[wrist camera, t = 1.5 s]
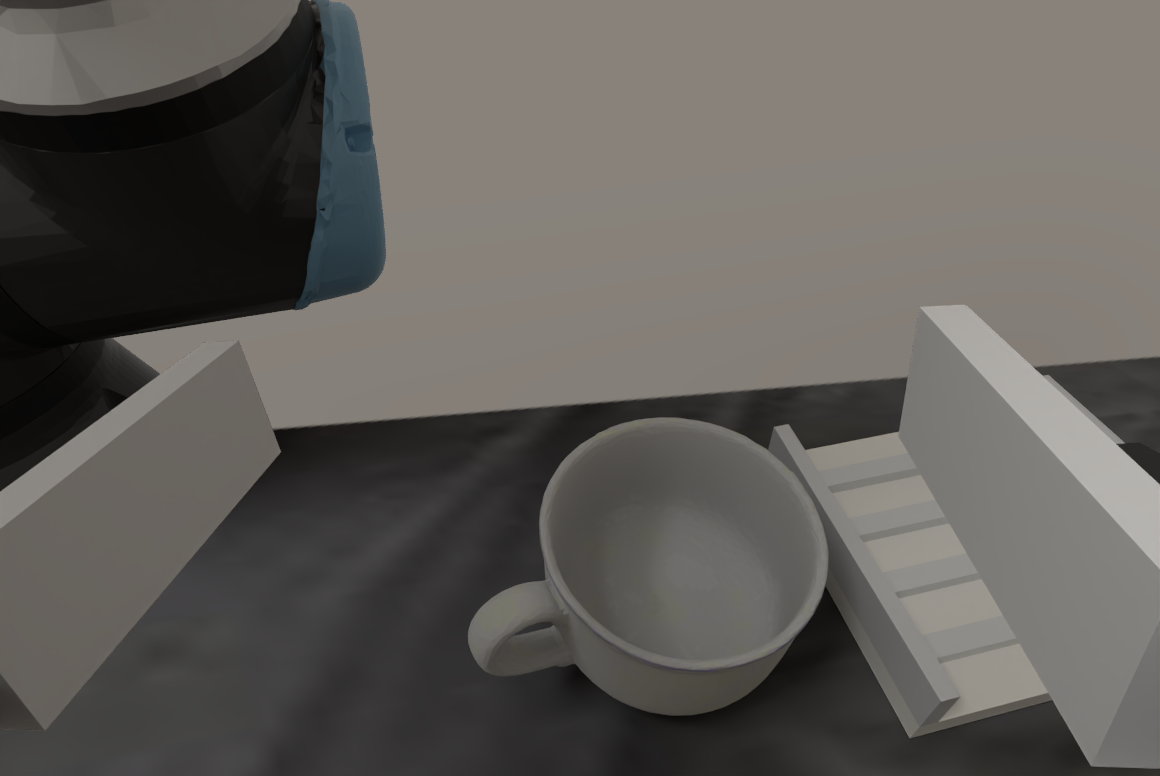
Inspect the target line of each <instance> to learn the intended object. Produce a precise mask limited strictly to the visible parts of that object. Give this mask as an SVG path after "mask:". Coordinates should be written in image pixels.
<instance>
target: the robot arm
mask: <svg viewBox="0 0 1160 776" xmlns="http://www.w3.org/2000/svg"><path fill="white" fill-rule="evenodd" d="M372 136H373V130H372V124H371V117H370V103H369V96H368V88H367V82H366V74H365V68H364V62H363V55H362V48H361V43H360V36H359V31H358V26H357V21H356V18H355V15H354V13H353V12H352V10H351V9H350V8H349V7H348V6H346V5H345V4H343V3H340V2H331V1H329V0H311V1H308V0H0V729H10V730H39V731H45V730H46V729H47V728H48V727H49V725H50V724H51V723H52V722H53V721H54V720H55V718H56V717H57V716H58V715H59V714H60V712H61V711H62V710H63V709H64V708H65V707H66V705H67V704H68V703H69V702H70V701H71V700H72V698H73V697H74V696H75V695H76V694H77V692H78V691H79V690H80V689H81V688H82V687H83V685H84V684H85V683H86V682H87V681H88V679H89V678H90V677H91V676H92V675H93V674H94V672H95V671H96V670H97V669H98V668H99V666H100V665H101V664H102V663H103V662H104V661H105V659H106V658H107V657H108V656H109V655H110V653H111V652H112V651H113V650H114V649H115V648H116V646H117V645H118V644H119V643H120V642H121V640H122V639H123V638H124V637H125V636H126V635H127V633H128V632H129V631H130V630H131V629H132V627H133V626H134V625H135V624H136V623H137V622H138V620H139V619H140V618H141V617H142V616H143V614H144V613H145V612H146V611H147V610H148V609H149V607H150V606H151V605H152V604H153V603H154V601H155V600H156V599H157V598H158V597H159V596H160V594H161V593H162V592H163V591H164V590H165V588H166V587H167V586H168V585H169V584H170V583H171V581H172V580H173V579H174V578H175V577H176V576H177V574H178V573H179V572H180V571H181V570H182V568H183V567H184V566H185V565H186V564H187V563H188V561H189V560H190V559H191V558H192V557H193V555H194V554H195V553H196V552H197V551H198V550H199V548H200V547H201V546H202V545H203V544H204V542H205V541H206V540H207V539H208V538H209V537H210V535H211V534H212V533H213V532H214V531H215V529H216V528H217V527H218V526H219V525H220V524H221V522H222V521H223V520H224V519H225V518H226V516H227V515H228V514H229V513H230V512H231V511H232V509H233V508H234V507H235V506H236V505H237V503H238V502H239V501H240V500H241V499H242V498H243V496H244V495H245V494H246V493H247V492H248V490H249V489H250V488H251V487H252V486H253V485H254V483H255V482H256V481H257V480H258V479H259V477H260V476H261V475H262V474H263V473H264V472H265V470H266V469H267V468H268V467H269V466H270V464H271V463H272V462H273V461H274V460H275V459H276V457H277V456H278V455H279V454H280V453H281V451H280V448H279V445H278V443H277V440H276V437H275V435H274V432H273V429H272V427H271V424H270V422H269V419H268V416H267V414H266V411H265V408H264V406H263V403H262V401H261V398H260V396H259V393H258V390H257V387H256V385H255V382H254V380H253V377H252V374H251V372H250V369H249V367H248V364H247V361H246V359H245V356H244V353H243V351H242V348H241V345H240V343H239V341H219V342H204V343H203V344H201V345H200V346H198V347H197V348H196V349H194V350H193V351H192V352H190V353H189V354H187V355H186V356H185V357H183V358H182V359H181V360H180V361H178V362H177V363H175V364H174V365H173V366H171V367H170V368H168V369H167V370H166V371H164V372H163V373H162V374H159V373H158V372H157V371H156V370H154V369H153V368H152V367H150V366H149V365H147V364H146V363H145V362H143V361H142V360H141V359H139V358H138V357H137V356H135V355H134V354H133V353H131V352H130V351H128V350H127V349H126V348H124V347H123V346H122V345H121V344H119V343H118V342H117V341H115V340H114V339H113V338H114V337H120V336H126V335H133V334H139V333H145V332H152V331H158V330H164V329H171V328H176V327H183V326H189V325H196V324H201V323H208V322H215V321H221V320H227V319H234V318H239V317H246V316H253V315H259V314H265V313H272V312H277V311H284V310H291V309H293V310H300V309H303V308H306V307H307V306H308V305H309V304H311V303H314V302H319V301H323V300H327V299H331V298H335V297H340V296H343V295H348V294H352V293H356V292H360V291H362V290H364V289H366V288H368V287H369V286H370V285H372V284H373V283H374V282H375V281H376V280H377V279H378V277H379V276H380V274H381V273H382V271H383V268H384V264H385V258H386V248H385V231H384V220H383V210H382V201H381V192H380V183H379V175H378V168H377V160H376V153H375V148H374V144H373V138H372ZM898 437H899V438H900V440H901V442H902V443H903V445H904V447H905V449H906V450H907V452H908V454H909V455H910V457H911V459H912V461H913V462H914V464H915V466H916V467H917V469H918V471H919V472H920V474H921V476H922V478H923V479H924V481H925V483H926V484H927V486H928V488H929V490H930V491H931V493H932V495H933V496H934V498H935V500H936V502H937V503H938V505H939V507H940V508H941V510H942V512H943V514H944V515H945V517H946V519H947V520H948V522H949V524H950V526H951V527H952V529H953V531H954V532H955V534H956V536H957V538H958V539H959V541H960V543H961V544H962V546H963V548H964V550H965V551H966V553H967V555H968V556H969V558H970V560H971V562H972V563H973V565H974V567H975V568H976V570H977V572H978V573H979V575H980V577H981V579H982V580H983V582H984V584H985V585H986V587H987V589H988V591H989V592H990V594H991V596H992V597H993V599H994V601H995V603H996V604H997V606H998V608H999V609H1000V611H1001V613H1002V615H1003V616H1004V618H1005V620H1006V621H1007V623H1008V625H1009V627H1010V628H1011V630H1012V632H1013V633H1014V635H1015V637H1016V639H1017V640H1018V642H1019V644H1020V645H1021V647H1022V649H1023V651H1024V652H1025V654H1026V656H1027V657H1028V659H1029V661H1030V662H1031V664H1032V666H1033V668H1034V669H1035V671H1036V673H1037V674H1038V676H1039V678H1040V680H1041V681H1042V683H1043V685H1044V686H1045V688H1046V690H1047V692H1048V693H1049V695H1050V697H1051V698H1052V700H1053V702H1054V704H1055V705H1056V707H1057V709H1058V710H1059V712H1060V714H1061V716H1062V717H1063V719H1064V721H1065V722H1066V724H1067V726H1068V728H1069V729H1070V731H1071V733H1072V734H1073V736H1074V738H1075V740H1076V741H1077V743H1078V745H1079V746H1080V748H1081V750H1082V752H1083V753H1084V755H1085V757H1086V758H1087V760H1088V762H1089V763H1090V765H1091V766H1097V767H1127V768H1156V769H1160V453H1158V452H1156V451H1154V450H1152V449H1150V448H1148V447H1146V446H1144V445H1142V444H1140V443H1124V444H1115V443H1114V442H1113V441H1112V440H1111V439H1110V438H1109V437H1108V436H1107V435H1106V434H1105V433H1104V432H1102V431H1101V430H1100V429H1099V428H1098V427H1097V426H1096V425H1095V424H1094V423H1093V422H1092V421H1091V420H1089V419H1088V418H1087V417H1086V416H1085V415H1084V414H1083V413H1082V412H1081V411H1080V410H1079V409H1078V408H1077V407H1075V406H1074V405H1073V404H1072V403H1071V402H1070V401H1069V400H1068V399H1067V398H1066V397H1065V396H1064V395H1062V394H1061V393H1060V392H1059V391H1058V390H1057V389H1056V388H1055V387H1054V386H1053V385H1052V384H1051V383H1050V382H1048V381H1047V380H1046V379H1045V378H1044V377H1043V376H1042V375H1041V374H1040V373H1039V372H1038V371H1037V370H1035V369H1034V368H1033V367H1032V366H1031V365H1030V364H1029V363H1028V362H1027V361H1026V360H1025V359H1024V358H1022V357H1021V356H1020V355H1019V354H1018V353H1017V352H1016V351H1015V350H1014V349H1013V348H1012V347H1011V346H1009V345H1008V344H1007V343H1006V342H1005V341H1004V340H1003V339H1002V338H1001V337H1000V336H999V335H998V334H997V333H996V332H994V331H993V330H992V329H991V328H990V327H989V326H988V325H987V324H986V323H985V322H984V321H983V320H981V319H980V318H979V317H978V316H977V315H976V314H975V313H974V312H973V311H972V310H971V309H970V308H969V307H967V306H966V305H949V306H948V305H947V306H929V307H928V306H927V307H920V308H919V314H918V320H917V326H916V332H915V338H914V345H913V350H912V356H911V362H910V369H909V374H908V380H907V386H906V392H905V398H904V404H903V410H902V416H901V423H900V429H899V435H898Z"/></svg>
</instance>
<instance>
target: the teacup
mask: <svg viewBox="0 0 1160 776" xmlns="http://www.w3.org/2000/svg"><path fill="white" fill-rule="evenodd" d="M539 535H540V545H541V549H542V553H543V558H544V566H545V580H544V581H535V582H527V583H523V584H519V585H516V586H513V587H511V588H509V589H506V590H504V591H502V592H501V593H499V594H497V595H496V596H494V597H492V598H491V599H490V600H489V601H488V602H486V603H485V604H484V605H483V606H482V607H481V608H480V609H479V610H478V612H477V613H476V615H475V616H474V618H473V619H472V621H471V624H470V627H469V630H468V644H469V647H470V650H471V653H472V654H473V656H474V658H475V660H476V662H477V663H478V665H479V666H480V667H481V668H482V669H483V670H484V671H485V672H487V673H490V674H492V675H495V676H516V675H521V674H525V673H530V672H534V671H538V670H541V669H545V668H549V667H552V666H560V667H565V666H568V665H571V664H576V665H577V666H578V667H579V669H580V670H581V671H582V672H583V673H584V674H585V675H586V676H587V677H588V678H589V679H590V680H591V681H592V682H593V683H594V684H595V685H597V686H598V687H599V688H601V689H602V690H603V691H605V692H606V693H607V694H609V695H610V696H612V697H613V698H615V699H617V700H619V701H620V702H622V703H625V704H627V705H629V706H632V707H635V708H638V709H641V710H644V711H647V712H651V713H657V714H664V715H671V716H681V715H696V714H701V713H706V712H710V711H714V710H717V709H720V708H723V707H726V706H728V705H730V704H732V703H733V702H735V701H737V700H739V699H741V698H742V697H744V696H746V695H747V694H748V693H750V692H751V691H752V690H753V689H755V688H756V687H757V686H758V685H759V684H760V683H761V682H762V681H763V680H764V679H765V678H766V677H767V676H768V675H769V674H770V673H771V671H772V670H773V669H774V668H775V666H776V665H777V664H778V662H779V661H780V660H781V658H782V657H783V656H784V654H785V653H786V651H787V650H788V648H789V647H790V645H791V643H792V642H793V640H794V638H795V637H796V636H797V635H798V634H799V633H800V632H801V631H802V630H803V628H804V627H805V626H806V625H807V623H808V622H809V620H810V618H811V617H812V615H813V614H814V613H815V611H816V609H817V607H818V605H819V603H820V600H821V598H822V595H823V592H824V588H825V584H826V579H827V574H828V564H829V551H828V545H827V539H826V535H825V532H824V528H823V524H822V521H821V519H820V516H819V514H818V512H817V510H816V507H815V505H814V503H813V500H812V499H811V497H810V496H809V494H808V493H807V491H806V490H805V488H804V487H803V485H802V484H801V482H800V481H799V479H798V478H797V476H796V475H795V474H794V472H792V471H790V470H789V469H788V468H787V467H786V466H785V465H784V464H783V463H782V462H781V461H780V460H779V459H778V458H776V457H775V456H774V455H773V454H772V453H770V452H769V451H768V450H767V449H766V448H764V447H762V446H760V445H758V444H757V443H755V442H753V441H752V440H750V439H749V438H747V437H746V436H744V435H741V434H739V433H737V432H734V431H732V430H729V429H727V428H724V427H722V426H718V425H715V424H712V423H706V422H702V421H698V420H690V419H683V418H675V417H673V418H664V417H659V418H645V419H639V420H634V421H631V422H626V423H622V424H619V425H616V426H613V427H610V428H608V429H607V430H605V431H602V432H599V433H597V434H596V435H595V436H594V437H592V438H590V439H589V440H587V441H585V442H584V443H582V444H580V445H579V446H578V447H577V448H576V449H574V450H573V451H572V452H571V453H570V454H569V455H568V456H567V457H566V458H565V459H564V460H563V461H562V462H561V464H560V465H559V467H558V469H557V470H556V472H555V474H554V475H553V477H552V478H551V480H550V481H549V484H548V486H547V488H546V491H545V494H544V497H543V501H542V506H541V509H540V517H539ZM539 622H551V623H552V624H553V626H552V627H550V628H546V629H542V630H538V631H533V632H529V633H525V634H521V635H515V636H513V635H514V634H516V633H517V632H519V631H521V630H522V629H524V628H526V627H529V626H532V625H534V624H537V623H539Z"/></svg>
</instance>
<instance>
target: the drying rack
mask: <svg viewBox="0 0 1160 776" xmlns="http://www.w3.org/2000/svg"><path fill="white" fill-rule="evenodd" d="M1043 377H1044V378H1045V379H1046V380H1047V381H1048V382H1050V383H1051V384H1052V385H1053V386H1054V387H1055V388H1056V389H1057V390H1058V391H1059V392H1060V393H1061V394H1062V395H1064V396H1065V397H1066V398H1067V399H1068V400H1069V401H1070V402H1071V403H1072V404H1073V405H1074V406H1075V407H1077V408H1078V409H1079V410H1080V411H1081V412H1082V413H1083V414H1084V415H1085V416H1086V417H1087V418H1088V419H1089V420H1091V421H1092V422H1093V423H1094V424H1095V425H1096V426H1097V427H1098V428H1099V429H1100V430H1101V431H1102V432H1104V433H1105V434H1106V435H1107V436H1108V437H1109V438H1110V439H1111V440H1112V441H1113V442H1114V443H1115V444H1124V442H1123V441H1122V440H1121V439H1120V438H1119V437H1117V436H1116V435H1115V434H1114V433H1113V432H1112V431H1111V430H1110V429H1108V428H1107V427H1106V426H1105V425H1104V424H1103V423H1102V422H1101V421H1100V420H1098V419H1097V418H1096V417H1095V416H1094V415H1093V414H1092V413H1091V412H1089V411H1088V410H1087V409H1086V408H1085V407H1084V406H1083V405H1082V404H1080V403H1079V402H1078V401H1077V400H1076V399H1075V398H1074V397H1073V396H1071V395H1070V394H1069V393H1068V392H1067V391H1066V390H1065V389H1064V388H1063V387H1061V386H1060V385H1059V384H1058V383H1057V382H1056V381H1055V380H1054V379H1052V378H1051V377H1050V376H1049V375H1045V376H1043ZM898 435H899V432H895V433H890V434H885V435H880V436H875V437H870V438H865V439H859V440H854V441H849V442H844V443H839V444H834V445H829V446H824V447H819V448H814V449H809V450H805V449H804V448H803V446H802V445H801V443H800V441H799V440H798V438H797V437H796V435H795V434H794V432H793V430H792V429H791V427H790V426H789V424H787V425H781V426H776V427H774V429H773V433H772V437H771V441H770V445H769V449H768V451H769V452H770V453H772V454H773V455H774V456H775V457H776V458H778V459H779V460H780V461H781V462H782V463H783V464H784V465H785V466H786V467H787V468H788V469H789V470H790V471H792V472H794V474H795V475H796V476H797V478H798V479H799V481H800V482H801V484H802V485H803V487H804V488H805V490H806V491H807V493H808V494H809V496H810V497H811V499H812V500H813V503H814V505H815V507H816V510H817V512H818V514H819V516H820V519H821V521H822V524H823V528H824V532H825V535H826V539H827V545H828V551H829V564H828V574H827V579H826V584H825V586H826V588H827V590H828V591H829V593H830V595H831V597H832V599H833V601H834V602H835V604H836V606H837V608H838V610H839V611H840V613H841V615H842V617H843V619H844V620H845V622H846V624H847V626H848V628H849V630H850V631H851V633H852V635H853V637H854V639H855V640H856V642H857V644H858V646H859V648H860V649H861V651H862V653H863V655H864V657H865V658H866V660H867V662H868V664H869V666H870V668H871V669H872V671H873V673H874V675H875V677H876V678H877V680H878V682H879V684H880V686H881V687H882V689H883V691H884V693H885V695H886V697H887V698H888V700H889V702H890V704H891V706H892V707H893V709H894V711H895V713H896V715H897V716H898V718H899V720H900V722H901V724H902V726H903V727H904V729H905V731H906V733H907V735H908V736H909V738H913V737H917V736H921V735H924V734H928V733H932V732H936V731H939V730H943V729H947V728H951V727H954V726H958V725H962V724H965V723H969V722H973V721H977V720H980V719H984V718H988V717H991V716H995V715H999V714H1003V713H1006V712H1010V711H1014V710H1018V709H1021V708H1025V707H1029V706H1032V705H1036V704H1040V703H1044V702H1047V701H1051V700H1052V698H1051V697H1050V695H1049V693H1048V692H1047V690H1046V688H1045V686H1044V685H1043V683H1042V681H1041V680H1040V678H1039V676H1038V674H1037V673H1036V671H1035V669H1034V668H1033V666H1032V664H1031V662H1030V661H1029V659H1028V657H1027V656H1026V654H1025V652H1024V651H1023V649H1022V647H1021V645H1020V644H1019V642H1018V640H1017V639H1016V637H1015V635H1014V633H1013V632H1012V630H1011V628H1010V627H1009V625H1008V623H1007V621H1006V620H1005V618H1004V616H1003V615H1002V613H1001V611H1000V609H999V608H998V606H997V604H996V603H995V601H994V599H993V597H992V596H991V594H990V592H989V591H988V589H987V587H986V585H985V584H984V582H983V580H982V579H981V577H980V575H979V573H978V572H977V570H976V568H975V567H974V565H973V563H972V562H971V560H970V558H969V556H968V555H967V553H966V551H965V550H964V548H963V546H962V544H961V543H960V541H959V539H958V538H957V536H956V534H955V532H954V531H953V529H952V527H951V526H950V524H949V522H948V520H947V519H946V517H945V515H944V514H943V512H942V510H941V508H940V507H939V505H938V503H937V502H936V500H935V498H934V496H933V495H932V493H931V491H930V490H929V488H928V486H927V484H926V483H925V481H924V479H923V478H922V476H921V474H920V472H919V471H918V469H917V467H916V466H915V464H914V462H913V461H912V459H911V457H910V455H909V454H908V452H907V450H906V449H905V447H904V445H903V443H902V442H901V440H900V438H899V437H898Z"/></svg>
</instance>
